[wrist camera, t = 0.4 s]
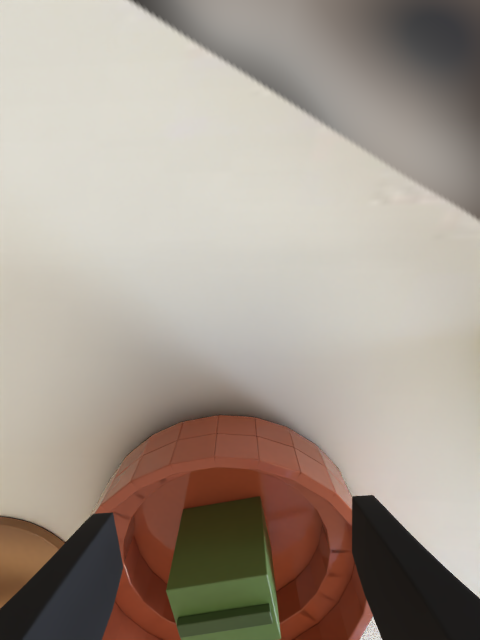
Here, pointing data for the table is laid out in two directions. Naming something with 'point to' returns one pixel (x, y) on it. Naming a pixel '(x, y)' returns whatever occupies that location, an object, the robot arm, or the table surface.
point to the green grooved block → (224, 574)
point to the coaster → (22, 554)
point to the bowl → (228, 485)
